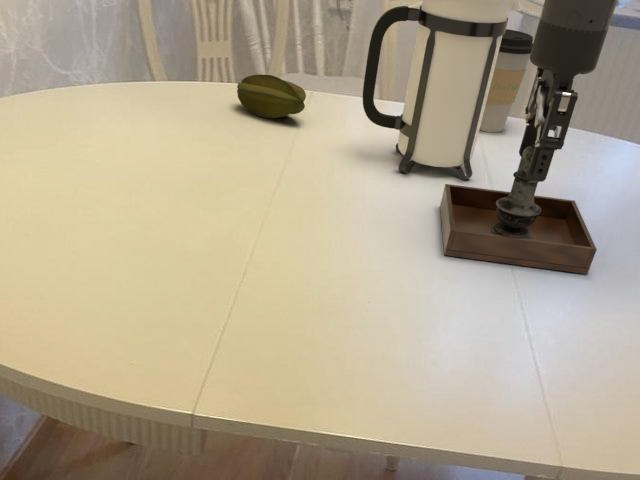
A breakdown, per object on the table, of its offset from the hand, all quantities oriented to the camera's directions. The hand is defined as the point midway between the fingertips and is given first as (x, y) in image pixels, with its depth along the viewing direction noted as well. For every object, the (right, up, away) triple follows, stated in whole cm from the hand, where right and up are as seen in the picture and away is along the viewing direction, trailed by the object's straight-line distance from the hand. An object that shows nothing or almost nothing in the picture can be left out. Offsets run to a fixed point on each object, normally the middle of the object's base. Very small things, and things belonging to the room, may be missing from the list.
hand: (530, 168), depth 95 cm
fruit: (-33, +25, +38) cm, 56 cm away
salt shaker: (-1, -6, +6) cm, 9 cm away
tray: (-1, -7, +6) cm, 9 cm away
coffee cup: (+6, +25, +44) cm, 51 cm away
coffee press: (-9, +11, +25) cm, 29 cm away
